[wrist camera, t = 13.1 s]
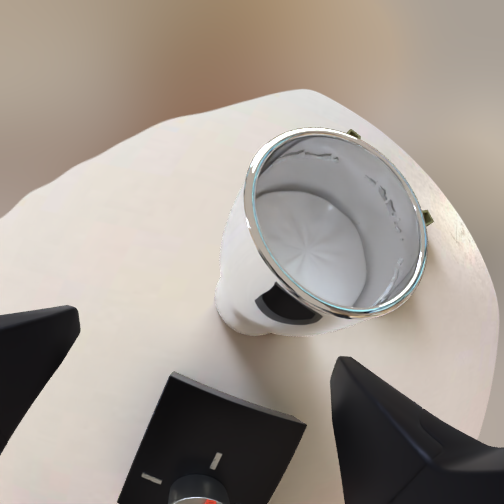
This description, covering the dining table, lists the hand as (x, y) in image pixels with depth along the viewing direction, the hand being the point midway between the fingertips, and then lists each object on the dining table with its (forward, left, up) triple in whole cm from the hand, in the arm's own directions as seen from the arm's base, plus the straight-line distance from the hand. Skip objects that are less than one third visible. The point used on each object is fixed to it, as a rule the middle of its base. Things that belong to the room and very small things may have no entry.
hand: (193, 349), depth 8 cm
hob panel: (-8, -4, -12) cm, 16 cm away
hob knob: (-10, -4, -9) cm, 15 cm away
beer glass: (+5, -3, -13) cm, 14 cm away
